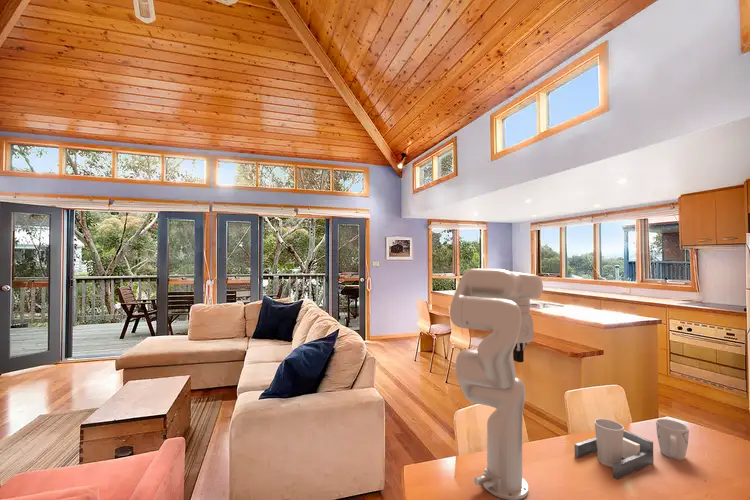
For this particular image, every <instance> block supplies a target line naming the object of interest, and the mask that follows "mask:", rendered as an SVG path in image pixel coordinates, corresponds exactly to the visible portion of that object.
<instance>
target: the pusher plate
mask: <svg viewBox="0 0 750 500" xmlns="http://www.w3.org/2000/svg"><path fill="white" fill-rule="evenodd" d="M639 453H640V444H637V443H635V442H633V441H631V440H628V439H626V438H624V437H623V445H622V458H623V459H626V458H629V457H631V456H634V455H636V454H639ZM622 458H621V459H622Z"/></svg>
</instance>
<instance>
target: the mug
mask: <svg viewBox="0 0 750 500" xmlns="http://www.w3.org/2000/svg"><path fill="white" fill-rule="evenodd" d="M655 425H656V426H655V428H656V436H657V442H658V446H659V451H660V453H661V454H662V455H664V456H666V457H668V458H670V459H674V460H684V459H686V456H687V449H688V444H689V436H690V435H689V434H690V429H689V427H688V426H687V425H685V424H684V423H681V422H680V421H679V422H678V421H676V420H671V419H667V418H666V419H665V418H658V419H656V421H655Z"/></svg>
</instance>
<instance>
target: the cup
mask: <svg viewBox="0 0 750 500" xmlns="http://www.w3.org/2000/svg"><path fill="white" fill-rule="evenodd" d="M593 422H594V429H595V437H596V442H597V460H598V462H599V463H600V462H601V464H602V465H604V466H606V467H609V468H613V463H616V462H618V461H621V460H622V445H623V433H624V430H625V427H624V425H623V424H621V423H620V422H617V421H614V420H611V419H608V418H607V419H606V418H596V419H594V421H593Z"/></svg>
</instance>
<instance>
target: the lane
mask: <svg viewBox="0 0 750 500" xmlns="http://www.w3.org/2000/svg"><path fill="white" fill-rule="evenodd" d="M623 437H624V438H626V439H628V440H631V441H633V442H635V443H637V444H640V453H639V454H636V455H634V456H631V457H629V458H626V459H624V458H623V459H621V461H618V462H616V463H613V467H612V478H614V479H616V480H619V479H621V478H625V477H627V476H629V475H631V474H634V473H635V472H638V471H641V470H643V469H645V468H648V467H649V466H652V465H654V464H655V463H654V441H653V440H650V439H647V438H645V437H642V436H640V435H638V434H636V433H633V432H630V431H628V430H626V429H624V433H623ZM596 452H597V442H596V436H595V437H593V438H588V439H586V440H583V441H579V442H577V443H574V457H575V458H576V459H579V458H582V457H585V456H588V455H591V454H594V453H596Z"/></svg>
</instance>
